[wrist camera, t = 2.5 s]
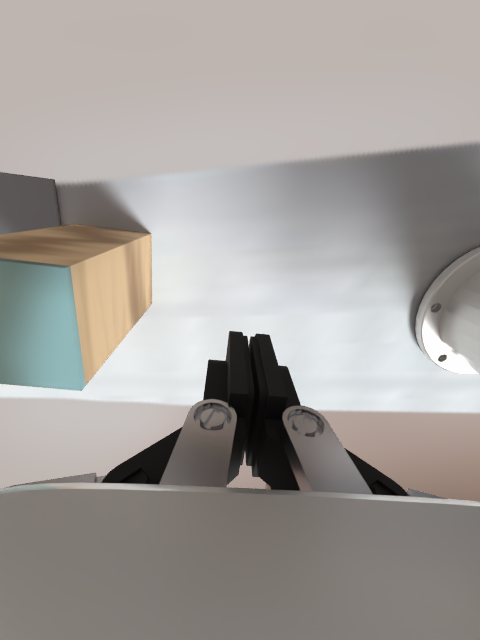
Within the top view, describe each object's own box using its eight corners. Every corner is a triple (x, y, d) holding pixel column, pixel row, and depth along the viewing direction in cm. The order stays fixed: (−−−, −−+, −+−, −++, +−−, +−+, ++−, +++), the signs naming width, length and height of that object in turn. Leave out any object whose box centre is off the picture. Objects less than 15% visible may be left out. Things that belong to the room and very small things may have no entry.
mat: (54, 179, 20) (52, 179, 20) (74, 326, 25) (72, 327, 24) (-91, 159, 19) (-96, 159, 19) (-42, 314, 24) (-45, 315, 24)
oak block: (151, 233, 22) (64, 268, 11) (151, 303, 24) (81, 390, 13) (73, 224, 21) (-100, 249, 10) (82, 296, 24) (-51, 379, 13)
